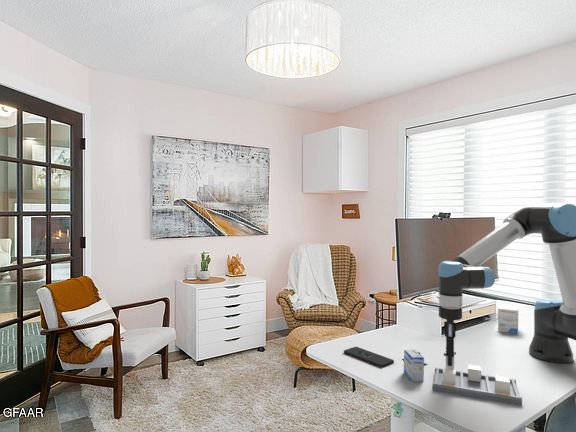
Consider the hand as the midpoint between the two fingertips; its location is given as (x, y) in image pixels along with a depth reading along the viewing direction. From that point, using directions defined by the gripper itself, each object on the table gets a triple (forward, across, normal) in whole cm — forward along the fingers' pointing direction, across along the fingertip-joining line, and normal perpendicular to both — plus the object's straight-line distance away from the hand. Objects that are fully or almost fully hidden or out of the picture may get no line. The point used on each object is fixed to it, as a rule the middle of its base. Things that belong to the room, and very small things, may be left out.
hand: (449, 373), depth 138 cm
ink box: (+4, -75, +26) cm, 80 cm away
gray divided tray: (+3, +1, +8) cm, 9 cm away
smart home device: (+4, -12, -31) cm, 33 cm away
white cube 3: (+2, +4, 0) cm, 4 cm away
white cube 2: (+2, -3, +8) cm, 9 cm away
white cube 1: (+2, +4, +16) cm, 16 cm away
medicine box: (+4, 0, -12) cm, 13 cm away
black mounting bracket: (+4, -15, -13) cm, 20 cm away
